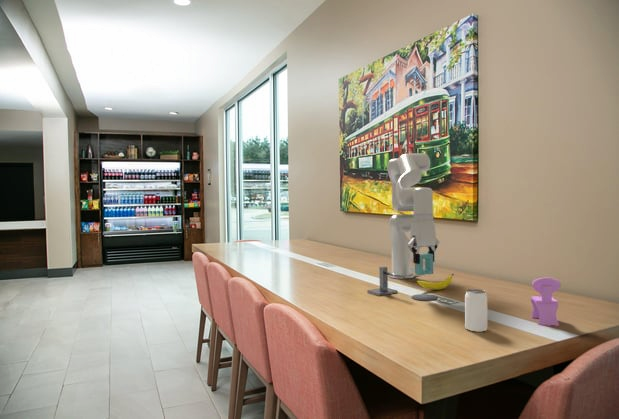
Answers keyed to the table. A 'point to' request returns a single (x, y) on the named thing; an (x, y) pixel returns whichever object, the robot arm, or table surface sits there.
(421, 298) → the coaster
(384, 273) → the stand
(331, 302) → the table surface
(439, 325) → the table surface
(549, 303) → the toy chair
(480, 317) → the can
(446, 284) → the banana
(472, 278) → the table surface
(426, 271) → the link
